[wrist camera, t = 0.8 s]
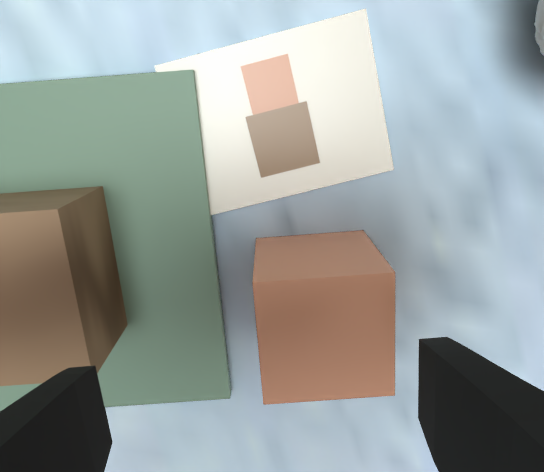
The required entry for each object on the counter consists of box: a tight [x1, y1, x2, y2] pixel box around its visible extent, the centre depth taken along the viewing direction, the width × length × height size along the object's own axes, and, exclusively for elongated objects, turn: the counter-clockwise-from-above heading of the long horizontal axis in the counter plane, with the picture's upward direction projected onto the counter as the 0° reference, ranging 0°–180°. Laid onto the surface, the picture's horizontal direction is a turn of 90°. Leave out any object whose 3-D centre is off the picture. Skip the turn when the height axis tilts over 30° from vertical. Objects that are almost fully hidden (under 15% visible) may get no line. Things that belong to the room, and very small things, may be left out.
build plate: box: [0, 70, 231, 411], centre depth 19 cm, size 14×14×1 cm
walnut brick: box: [0, 186, 128, 386], centre depth 17 cm, size 6×6×4 cm
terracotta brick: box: [252, 230, 395, 404], centre depth 17 cm, size 4×4×5 cm
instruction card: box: [155, 9, 394, 215], centre depth 17 cm, size 6×8×1 cm
